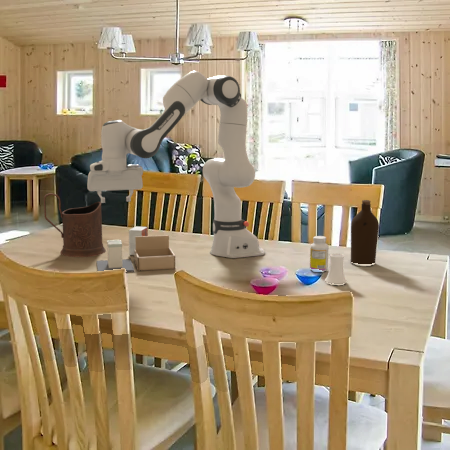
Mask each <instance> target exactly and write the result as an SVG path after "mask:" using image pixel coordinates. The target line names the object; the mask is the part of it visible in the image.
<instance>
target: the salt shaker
mask: <svg viewBox="0 0 450 450" xmlns="http://www.w3.org/2000/svg"><path fill="white" fill-rule="evenodd" d="M344 257H345V254H341V253H330V254H329V260H330V263H329V268H328V273H327V276H326V278H324V282H325V281H326V282H328V283H331V284H332V283H334V284H343V283H347V282H348V281H347V279H346V277H345V273H344V259H345V258H344Z"/></svg>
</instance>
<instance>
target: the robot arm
mask: <svg viewBox="0 0 450 450" xmlns="http://www.w3.org/2000/svg"><path fill="white" fill-rule="evenodd" d="M200 101H201V102H202V103H203V104H205V105H209V106H217V107H218V108H219V111H220V112H219V114H220V115H219V126H218V133H217V134H218V135H217V143H218V145H219V146H220V148H221V149H222V151H223V157H224V158H222V157H215V158H211V159H208V160H207V161H205V162H204V164H203V166H202V176H203V178H204V179H205V180H206V182H207V183H208V185H209V187H210V190H211V192H212V196H213V197H212V198H213V204H214V207H213V208H214V210H213V211H214V219H213V221H212V222H213V223H212V232H213V237H212V238H213V240H212V243H211V247H210V248H211V250H210V252H209V253H210V254H211V255H213V256H217V257H224V258H225V257H226V258H228V259H236V258H237V259H238V258H247V257H257V256H264V255H265V253H266V252H265V249H264V248H262V247H261V246H260V242H259V239H258V237H257V236H256V235H255V234H253V233H252V232H251V231H250V230H248V229H247V228H248V227H249V226H250V223H249V221H246V220H244V219H242V200H241V198H240V197H239V195H237V193H236V191H235V188H236V189H238V188H241V189H242V188H247V187H249V186H251V185H252V184H253V183H254V181H255V178H256V170H255V167H254V165H253V164H252V163H251V162H250V160H249V157H248V153H247V147H246V146H247V145H246V139H247V128H248V127H247V126H248V105H247V102H246V100H245V99H244V98H242V94H241V89H240V84H239V82H238V80H237V79H236V78H235V77H233V76H230V75H215V76H212V77H206V75H204V74H203V73H202V72H200V71H198V70H192V71H190V72H188V73H186V74H185V75H183V76H182V77H181V78H179V79H178V80H177V81H175V83H174V84H173V85H172V86H170V88H169V89H168V90H167V91H166V92H165V94H164V95H163V97H162V105H163V107H164V111H163V112H162V113H161V114H160V115H159V117H158V118H157V119H156V120H155V121H154V122H153V123H152V124H151V125H150V126H149V127H147V128H145V129H141V128H136V127H134V126H131V125H129V124H127V123H125V121H123V120H121V119H115V120H114V119H113V120H109V121H106V122H104V123H103V124H102V127H101V132H100V133H101V134H100V145H101V148H102V154H101V160H99V161H96V162H94V163H91V164H90V165H89V169H90V171H89V173H88V175H87V187H86V188H87V190H88V191H89V192H96V193H97V195H98V196H99V198H100V202H101V204H104V203H105V204H106V198H105V196H102V192H103V191H104V192H105V191H128V192H129V195H128V196H126V198H125V199H126V202H127V203H128V202H131V201H132V199H131V198H132V196H133V194H134V190H141V189H142V188H143V187H144V186H143V185H144V184H143V178H142V176H143V174H144V168H143V166H141V165H139V164H127V155H128V154H131V155H134V156H137V157H139V158H142V159H151V158H152V157H154V156H155V155H156V154H157V153H158V152H159V150H160V148H161V144H162V142H163V141H164V139H165V137H167V136H168V134H169V133H170V132H171V131H172V130H173V129H174V128H175V127H176V125H177V124H178V123H179V122H180V121H181V119H182V118H183V117H184V116H185V115H186V114H187V113H189V111H190V110H191V109H193V107H194V106H195V105H197V103H199V102H200ZM246 227H247V228H246Z"/></svg>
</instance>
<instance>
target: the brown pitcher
mask: <svg viewBox="0 0 450 450" xmlns="http://www.w3.org/2000/svg"><path fill="white" fill-rule="evenodd" d="M48 196H54V197H56V198H57V199H58V210H59V213H60V218H61V220H62V230H61V229H60V228H59V227H58V226H56V225H55V224H54V223H53V222H52V221H51V220H50V219H49V218H48V217H47V208H46V207H47V206H46V204H47V203H46V202H47V201H46V198H47V197H48ZM61 208H62V204H61V198H60V196H59V195H58V194H56V193H46V194H45V195H44V196H43V213H44V219H45V220H46V221H47V222H48V223H49V224H51V226H52V227H54V228H55V229H56V230H57V231H58V232H60V235H61V238H62V239H63V241H62V242H63V243H62V244H63V245H62V248H61V251H60V255H62V256H65V257H69V258H70V257H71V258H88V257H95V256H100V255H103V254H105V253H106V252H107V251H106V248H105V246H104V243H103V223H102V219H103V218H102V217H103V216H102V203H101V201H97V202H94V203H92V204H91V205H87V206H83V207H74V208H68V209H66V210H64V211H62V209H61Z"/></svg>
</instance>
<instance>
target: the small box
mask: <svg viewBox="0 0 450 450" xmlns="http://www.w3.org/2000/svg"><path fill="white" fill-rule="evenodd" d="M148 228H149V227H148V226H134V227H132V228H130V229H129V230H128V246H129V247H128V252H129V256H135V254H134V249H136V239H135V237H142V236H149V234H148V232H149V229H148Z"/></svg>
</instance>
